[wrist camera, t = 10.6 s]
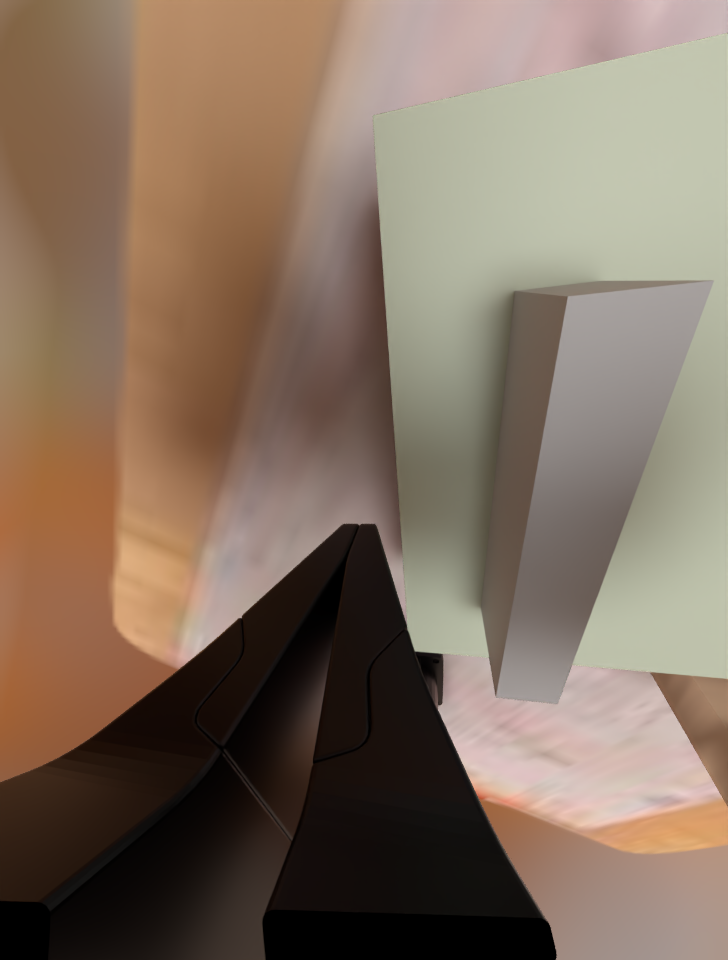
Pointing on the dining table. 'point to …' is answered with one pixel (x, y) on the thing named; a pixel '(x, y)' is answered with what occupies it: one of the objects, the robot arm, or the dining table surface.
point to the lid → (563, 367)
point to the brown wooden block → (702, 719)
